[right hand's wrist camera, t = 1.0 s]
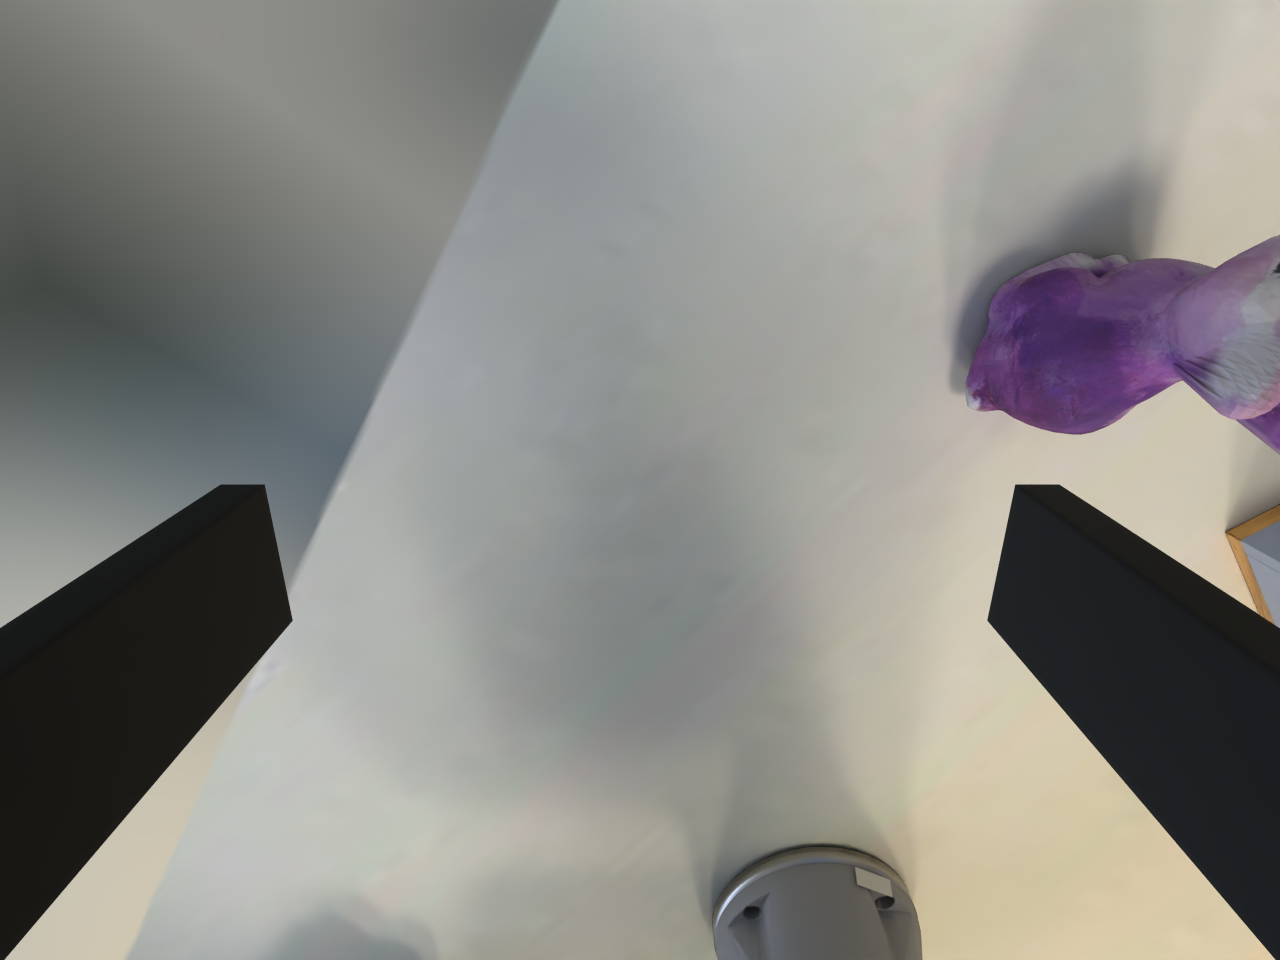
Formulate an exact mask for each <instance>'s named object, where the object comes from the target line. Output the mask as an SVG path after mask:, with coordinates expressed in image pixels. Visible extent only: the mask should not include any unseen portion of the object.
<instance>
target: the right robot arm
mask: <svg viewBox="0 0 1280 960" xmlns="http://www.w3.org/2000/svg"><path fill="white" fill-rule="evenodd" d="M292 621H293V620H292V615H291V610H290V605H289V601H288V596H287V591H286V586H285V581H284V576H283V572H282V567H281V562H280V557H279V552H278V547H277V542H276V538H275V533H274V528H273V523H272V518H271V513H270V508H269V504H268V499H267V494H266V489H265V485H220V486H218V487H216V488H215V489H213V490H212V491H210V492H209V493H207V494H206V495H204V496H203V497H201V498H199V499H198V500H196V501H195V502H193V503H192V504H190V505H189V506H187V507H186V508H184V509H183V510H181V511H179V512H178V513H176V514H175V515H173V516H172V517H170V518H169V519H167V520H166V521H164V522H163V523H161V524H159V525H158V526H156V527H155V528H153V529H152V530H150V531H149V532H147V533H146V534H144V535H143V536H141V537H140V538H138V539H136V540H135V541H133V542H132V543H130V544H129V545H127V546H126V547H124V548H123V549H121V550H120V551H118V552H116V553H115V554H113V555H112V556H110V557H109V558H107V559H106V560H104V561H103V562H101V563H100V564H98V565H96V566H95V567H93V568H92V569H90V570H89V571H87V572H86V573H84V574H83V575H81V576H80V577H78V578H76V579H75V580H73V581H72V582H70V583H69V584H67V585H66V586H64V587H63V588H61V589H60V590H58V591H57V592H55V593H53V594H52V595H50V596H49V597H47V598H46V599H44V600H43V601H41V602H40V603H38V604H37V605H35V606H34V607H32V608H30V609H29V610H27V611H26V612H24V613H23V614H21V615H20V616H18V617H17V618H15V619H13V620H12V621H10V622H9V623H7V624H6V625H4V626H3V627H1V628H0V960H4V959H5V958H6V957H7V956H8V955H9V954H10V952H11V951H12V950H13V949H14V948H15V947H16V945H17V944H18V943H19V942H20V941H21V940H22V938H23V937H24V936H25V935H26V934H27V932H28V931H29V930H30V929H31V928H32V926H33V925H34V924H35V923H36V922H37V921H38V919H39V918H40V917H41V916H42V915H43V914H44V912H45V911H46V910H47V909H48V908H49V907H50V905H51V904H52V903H53V902H54V901H55V900H56V898H57V897H58V896H59V895H60V893H61V892H62V891H63V890H64V889H65V888H66V887H67V885H68V884H69V883H70V882H71V881H72V880H73V878H74V877H75V876H76V875H77V874H78V872H79V871H80V870H81V869H82V868H83V867H84V865H85V864H86V863H87V862H88V861H89V859H90V858H91V857H92V856H93V855H94V854H95V852H96V851H97V850H98V849H99V848H100V846H101V845H102V844H103V843H104V842H105V841H106V839H107V838H108V837H109V836H110V835H111V834H112V832H113V831H114V830H115V829H116V828H117V827H118V825H119V824H120V823H121V822H122V821H123V820H124V818H125V817H126V816H127V815H128V814H129V812H130V811H131V810H132V809H133V808H134V807H135V805H136V804H137V803H138V802H139V801H140V799H141V798H142V797H143V796H144V795H145V794H146V792H147V791H148V790H149V789H150V788H151V787H152V785H153V784H154V783H155V782H156V781H157V780H158V778H159V777H160V776H161V775H162V774H163V772H164V771H165V770H166V769H167V768H168V767H169V765H170V764H171V763H172V762H173V761H174V760H175V758H176V757H177V756H178V755H179V754H180V752H181V751H182V750H183V749H184V748H185V747H186V745H187V744H188V743H189V742H190V741H191V740H192V738H193V737H194V736H195V735H196V734H197V732H198V731H199V730H200V729H201V728H202V727H203V725H204V724H205V723H206V722H207V721H208V720H209V718H210V717H211V716H212V715H213V714H214V712H215V711H216V710H217V709H218V708H219V707H220V705H221V704H222V703H223V702H224V701H225V699H226V698H227V697H228V696H229V695H230V694H231V692H232V691H233V690H234V689H235V688H236V687H237V685H238V684H239V683H240V682H241V681H242V680H243V678H244V677H245V676H246V675H247V674H248V672H249V671H250V670H251V669H252V668H253V667H254V665H255V664H256V663H257V662H258V661H259V660H260V658H261V657H262V656H263V655H264V654H265V652H266V651H267V650H268V649H269V648H270V647H271V645H272V644H273V643H274V642H275V641H276V640H277V638H278V637H279V636H280V635H281V634H282V632H283V631H284V630H285V629H286V628H287V627H288V625H289V624H290V623H291V622H292ZM987 621H988V622H989V623H990V624H991V625H992V627H993V628H994V629H995V630H996V631H997V632H998V634H999V635H1000V636H1001V637H1002V638H1003V640H1004V641H1005V642H1006V643H1007V644H1008V645H1009V647H1010V648H1011V649H1012V650H1013V651H1014V652H1015V654H1016V655H1017V656H1018V657H1019V658H1020V660H1021V661H1022V662H1023V663H1024V664H1025V665H1026V667H1027V668H1028V669H1029V670H1030V671H1031V672H1032V674H1033V675H1034V676H1035V677H1036V678H1037V680H1038V681H1039V682H1040V683H1041V684H1042V685H1043V687H1044V688H1045V689H1046V690H1047V691H1048V692H1049V694H1050V695H1051V696H1052V697H1053V698H1054V700H1055V701H1056V702H1057V703H1058V704H1059V705H1060V707H1061V708H1062V709H1063V710H1064V711H1065V712H1066V714H1067V715H1068V716H1069V717H1070V718H1071V720H1072V721H1073V722H1074V723H1075V724H1076V725H1077V727H1078V728H1079V729H1080V730H1081V731H1082V732H1083V734H1084V735H1085V736H1086V737H1087V738H1088V740H1089V741H1090V742H1091V743H1092V744H1093V745H1094V747H1095V748H1096V749H1097V750H1098V751H1099V752H1100V754H1101V755H1102V756H1103V757H1104V758H1105V760H1106V761H1107V762H1108V763H1109V764H1110V765H1111V767H1112V768H1113V769H1114V770H1115V771H1116V772H1117V774H1118V775H1119V776H1120V777H1121V778H1122V780H1123V781H1124V782H1125V783H1126V784H1127V785H1128V787H1129V788H1130V789H1131V790H1132V791H1133V792H1134V794H1135V795H1136V796H1137V797H1138V798H1139V800H1140V801H1141V802H1142V803H1143V804H1144V805H1145V807H1146V808H1147V809H1148V810H1149V811H1150V812H1151V814H1152V815H1153V816H1154V817H1155V818H1156V820H1157V821H1158V822H1159V823H1160V824H1161V825H1162V827H1163V828H1164V829H1165V830H1166V831H1167V832H1168V834H1169V835H1170V836H1171V837H1172V838H1173V840H1174V841H1175V842H1176V843H1177V844H1178V845H1179V847H1180V848H1181V849H1182V850H1183V851H1184V852H1185V854H1186V855H1187V856H1188V857H1189V858H1190V860H1191V861H1192V862H1193V863H1194V864H1195V865H1196V867H1197V868H1198V869H1199V870H1200V871H1201V872H1202V874H1203V875H1204V876H1205V877H1206V878H1207V880H1208V881H1209V882H1210V883H1211V884H1212V885H1213V887H1214V888H1215V889H1216V890H1217V891H1218V892H1219V894H1220V895H1221V896H1222V897H1223V898H1224V900H1225V901H1226V902H1227V903H1228V904H1229V905H1230V907H1231V908H1232V909H1233V910H1234V911H1235V912H1236V914H1237V915H1238V916H1239V917H1240V918H1241V920H1242V921H1243V922H1244V923H1245V924H1246V925H1247V927H1248V928H1249V929H1250V930H1251V931H1252V932H1253V934H1254V935H1255V936H1256V937H1257V938H1258V940H1259V941H1260V942H1261V943H1262V944H1263V945H1264V947H1265V948H1266V949H1267V950H1268V951H1269V952H1270V954H1271V955H1272V956H1273V957H1274V958H1275V960H1280V628H1279V627H1277V626H1276V625H1274V624H1273V623H1271V622H1270V621H1268V620H1267V619H1265V618H1263V617H1262V616H1260V615H1259V614H1257V613H1256V612H1254V611H1253V610H1251V609H1250V608H1248V607H1247V606H1245V605H1243V604H1242V603H1240V602H1239V601H1237V600H1236V599H1234V598H1233V597H1231V596H1230V595H1228V594H1227V593H1225V592H1223V591H1222V590H1220V589H1219V588H1217V587H1216V586H1214V585H1213V584H1211V583H1210V582H1208V581H1207V580H1205V579H1204V578H1202V577H1200V576H1199V575H1197V574H1196V573H1194V572H1193V571H1191V570H1190V569H1188V568H1187V567H1185V566H1184V565H1182V564H1180V563H1179V562H1177V561H1176V560H1174V559H1173V558H1171V557H1170V556H1168V555H1167V554H1165V553H1164V552H1162V551H1160V550H1159V549H1157V548H1156V547H1154V546H1153V545H1151V544H1150V543H1148V542H1147V541H1145V540H1144V539H1142V538H1140V537H1139V536H1137V535H1136V534H1134V533H1133V532H1131V531H1130V530H1128V529H1127V528H1125V527H1124V526H1122V525H1121V524H1119V523H1117V522H1116V521H1114V520H1113V519H1111V518H1110V517H1108V516H1107V515H1105V514H1104V513H1102V512H1101V511H1099V510H1097V509H1096V508H1094V507H1093V506H1091V505H1090V504H1088V503H1087V502H1085V501H1084V500H1082V499H1081V498H1079V497H1077V496H1076V495H1074V494H1073V493H1071V492H1070V491H1068V490H1067V489H1065V488H1064V487H1062V486H1061V485H1015V489H1014V494H1013V499H1012V504H1011V508H1010V513H1009V518H1008V523H1007V528H1006V533H1005V538H1004V542H1003V547H1002V552H1001V557H1000V562H999V567H998V571H997V576H996V581H995V586H994V591H993V596H992V601H991V605H990V610H989V615H988V620H987ZM713 936H714V945H715V950H716V954H717V958H718V960H922V944H921V931H920V926H919V921H918V917H917V913H916V910H915V907H914V904H913V902H912V899H911V897H910V894H909V892H908V890H907V888H906V886H905V884H904V883H903V881H902V880H901V878H900V877H899V876H898V875H897V874H896V873H895V872H894V871H893V870H892V869H891V868H889V867H888V866H886V865H885V864H884V863H882V862H880V861H879V860H877V859H875V858H873V857H870V856H868V855H865V854H863V853H860V852H856V851H852V850H848V849H842V848H834V847H808V848H800V849H794V850H789V851H785V852H782V853H778V854H775V855H772V856H770V857H767V858H765V859H763V860H761V861H759V862H757V863H755V864H753V865H751V866H750V867H748V868H747V869H745V870H744V871H743V872H741V873H740V874H739V875H737V876H736V877H735V878H734V879H733V880H732V881H731V882H730V883H729V884H728V886H727V887H726V888H725V889H724V891H723V892H722V894H721V895H720V897H719V899H718V901H717V904H716V906H715V909H714V914H713Z"/></svg>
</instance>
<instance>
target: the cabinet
mask: <svg viewBox="0 0 1280 960" xmlns="http://www.w3.org/2000/svg"><path fill="white" fill-rule="evenodd" d="M1226 535H1227V537H1228V540H1229V542H1230V545H1231V547H1232V549H1233V552H1234V554H1235V557H1236V559H1237V561H1238V564H1239V566H1240V569H1241V571H1242V573H1243V576H1244V578H1245V581H1246V583H1247V585H1248V588H1249V590H1250V593H1251V595H1252V597H1253V600H1254V602H1255V605H1256V607H1257V610H1258V612H1259V614H1260V616H1262V617H1263V618H1265V619H1267V620H1268V621H1270V622H1271V623H1273V624H1274V625H1276V626H1277V627H1279V628H1280V505H1278V506H1276V507H1274V508H1273V509H1271V510H1269V511H1267V512H1265V513H1263V514H1261V515H1259V516H1257V517H1255V518H1253V519H1251V520H1249V521H1247V522H1245V523H1243V524H1241V525H1239V526H1237V527H1235V528H1233V529H1231V530H1229V531H1227V532H1226Z"/></svg>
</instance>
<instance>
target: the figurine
mask: <svg viewBox="0 0 1280 960" xmlns="http://www.w3.org/2000/svg"><path fill="white" fill-rule="evenodd" d="M988 318H989V322H988V325H987V329H986V332H985V336H984V338H983V339H982V341H981V343H980V345H979V347H978V348H977V351H976V354H975V357H974V360H973V363H972V365H971V368H970V371H969V374H968V376H967V381H966V391H965V393H966V401H967V405H968V407H969V408H970V409H973V410H976V411H993V410H1002V411H1004V412H1006V413H1007V414H1009V415H1010V416H1012V417H1013V418H1015V419H1018V420H1020V421H1022V422H1024V423H1026V424H1028V425H1031V426H1034V427H1037V428H1040V429H1044V430H1048V431H1052V432H1057V433H1065V434H1086V433H1091V432H1094V431H1097V430H1099V429H1102V428H1104V427H1107V426H1109V425H1111V424H1112V423H1114V422H1116V421H1117V420H1119V419H1121V418H1122V417H1123V416H1124V415H1125V414H1127V413H1128V412H1129V411H1130V410H1131V409H1132V408H1134V407H1135V406H1136V405H1137V404H1139V403H1141V402H1143V401H1145V400H1147V399H1149V398H1151V397H1153V396H1154V395H1156V394H1158V393H1160V392H1161V391H1163V390H1165V389H1166V388H1168V387H1170V386H1171V385H1173V384H1175V383H1176V382H1179V381H1182V380H1183V381H1185V382H1186V383H1187V384H1188V385H1189V386H1190V387H1191V388H1192V389H1193V390H1194V391H1196V392H1197V393H1198V394H1199V395H1200V396H1201V397H1202V398H1203V399H1204V400H1205V401H1207V402H1208V403H1209V404H1210V405H1211V406H1212V407H1213V408H1214V409H1215V410H1216V411H1218V412H1219V413H1220V414H1221V415H1223V416H1226V417H1228V418H1230V419H1235V420H1237V421H1238V422H1239V423H1240V424H1242V425H1243V426H1244V427H1246V428H1247V429H1248V430H1249V431H1251V432H1252V433H1253V434H1254V435H1256V436H1257V437H1258V438H1259V439H1261V440H1262V441H1263V442H1265V443H1266V444H1267V445H1268V446H1270V447H1271V448H1272V449H1273V450H1275V451H1276V452H1277V453H1278V454H1280V235H1278V236H1275V237H1272V238H1270V239H1268V240H1266V241H1264V242H1262V243H1260V244H1258V245H1256V246H1254V247H1252V248H1250V249H1248V250H1246V251H1244V252H1242V253H1240V254H1238V255H1237V256H1235V257H1233V258H1231V259H1230V260H1228V261H1226V262H1224V263H1223V264H1221V265H1220V266H1218V267H1217V268H1213V267H1209V266H1206V265H1202V264H1199V263H1194V262H1190V261H1184V260H1178V259H1169V258H1164V259H1145V260H1138V261H1134V262H1130V261H1129V260H1128V258H1127V257H1124V255H1110V256H1106V257H1102V258H1098V259H1094V258H1093V257H1091V256H1089V255H1087V254H1085V253H1070V254H1066V255H1063V256H1060V257H1057V258H1054V259H1052V260H1050V261H1047V262H1044V263H1042V264H1041V265H1038V266H1036V267H1033V268H1031V269H1028V270H1026V271H1025V272H1023V273H1022V274H1019V275H1017V276H1016V277H1014V278H1012V279H1010V280H1009V281H1007V282H1005V283H1004V284H1002V286H1001V287H1000V288H999V289H998V291H997V292H996V293H995V294H994V295H993V297H992V300H991V303H990V307H989V312H988Z"/></svg>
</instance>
